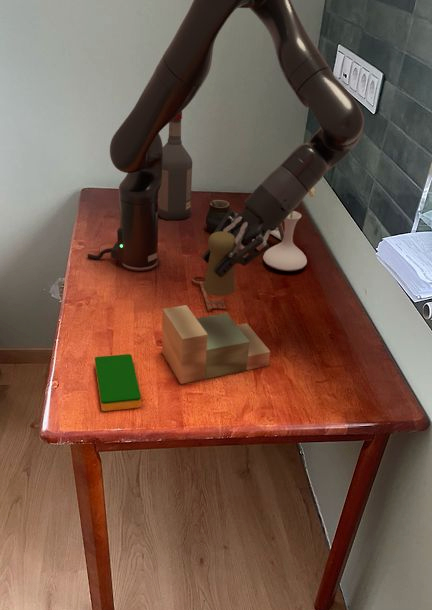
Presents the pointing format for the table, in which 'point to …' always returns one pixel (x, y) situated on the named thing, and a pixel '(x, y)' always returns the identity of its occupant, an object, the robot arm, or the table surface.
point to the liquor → (175, 176)
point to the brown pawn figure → (219, 249)
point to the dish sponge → (117, 382)
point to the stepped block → (209, 345)
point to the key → (214, 304)
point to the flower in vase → (287, 247)
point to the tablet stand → (275, 233)
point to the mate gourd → (216, 213)
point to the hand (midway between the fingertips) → (211, 267)
